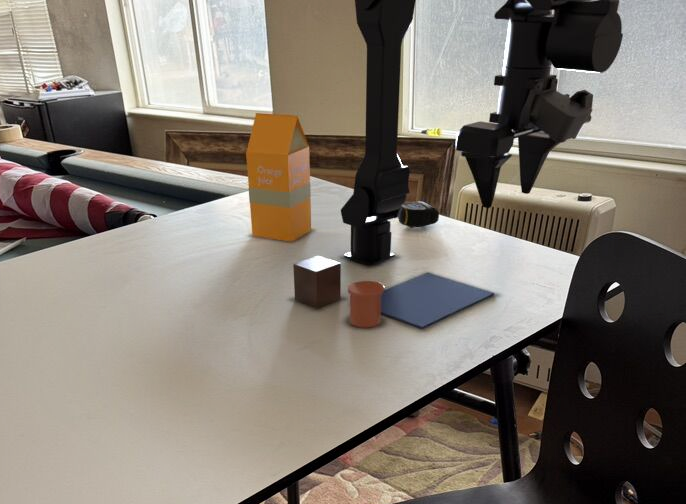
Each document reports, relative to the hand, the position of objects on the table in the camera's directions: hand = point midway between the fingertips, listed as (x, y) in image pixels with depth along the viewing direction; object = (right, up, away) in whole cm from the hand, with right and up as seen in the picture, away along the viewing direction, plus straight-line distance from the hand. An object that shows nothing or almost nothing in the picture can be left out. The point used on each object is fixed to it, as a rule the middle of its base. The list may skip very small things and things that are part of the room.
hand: (506, 200), depth 95 cm
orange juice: (-32, +10, +38) cm, 51 cm away
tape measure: (-6, +13, +39) cm, 41 cm away
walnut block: (-26, -10, +11) cm, 30 cm away
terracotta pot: (-19, -15, +4) cm, 25 cm away
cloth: (-9, -11, +10) cm, 17 cm away
